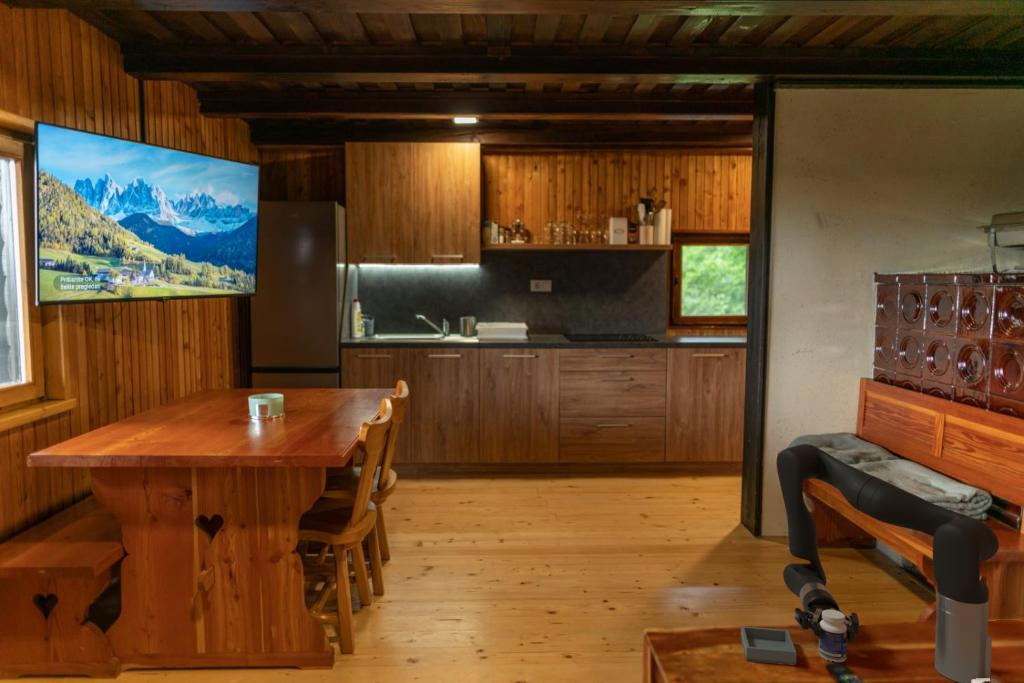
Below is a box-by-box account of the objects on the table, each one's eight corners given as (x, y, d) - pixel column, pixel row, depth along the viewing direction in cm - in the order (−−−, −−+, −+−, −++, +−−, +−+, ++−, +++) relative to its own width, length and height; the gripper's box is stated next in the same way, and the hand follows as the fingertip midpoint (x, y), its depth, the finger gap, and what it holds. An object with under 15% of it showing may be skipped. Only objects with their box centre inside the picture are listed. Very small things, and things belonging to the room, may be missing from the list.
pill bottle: (849, 664, 150) (850, 620, 150) (822, 662, 151) (822, 618, 151) (842, 651, 156) (843, 609, 155) (816, 649, 157) (816, 607, 156)
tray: (787, 642, 160) (787, 630, 160) (796, 665, 150) (796, 652, 150) (741, 638, 162) (741, 626, 162) (746, 660, 152) (746, 647, 152)
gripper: (787, 586, 168) (801, 616, 152) (850, 590, 165) (871, 622, 149) (787, 615, 169) (801, 649, 152) (849, 620, 166) (871, 655, 149)
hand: (836, 635), depth 151 cm, fingers closed on pill bottle, 5 cm apart
